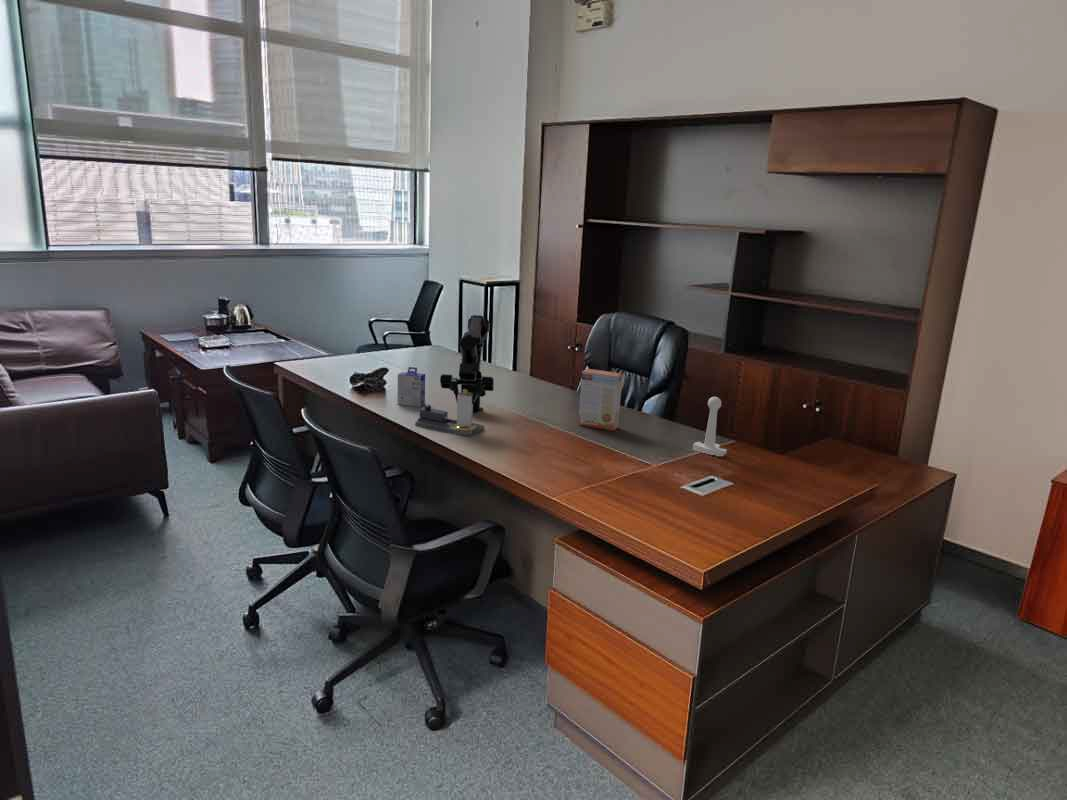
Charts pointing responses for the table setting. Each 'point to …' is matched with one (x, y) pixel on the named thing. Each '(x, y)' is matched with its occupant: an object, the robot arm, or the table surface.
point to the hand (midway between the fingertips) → (464, 403)
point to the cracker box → (600, 399)
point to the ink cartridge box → (411, 388)
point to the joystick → (711, 431)
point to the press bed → (450, 426)
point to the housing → (464, 408)
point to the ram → (433, 414)
